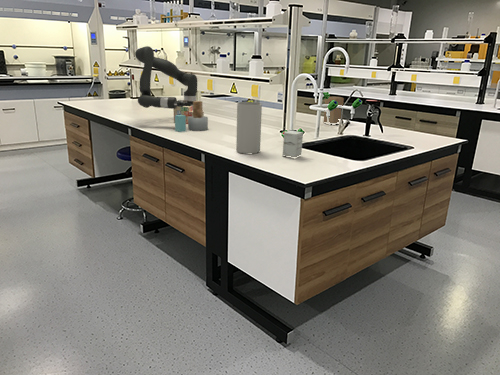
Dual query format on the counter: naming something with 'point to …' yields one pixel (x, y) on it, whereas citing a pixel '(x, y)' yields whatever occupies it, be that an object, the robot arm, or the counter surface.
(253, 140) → the cylinder vase
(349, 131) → the counter surface
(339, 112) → the block
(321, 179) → the counter surface
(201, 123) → the plinth
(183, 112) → the stack of blocks
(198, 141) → the counter surface
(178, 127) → the teal block
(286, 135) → the supplement box
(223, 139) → the counter surface
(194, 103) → the walnut block
